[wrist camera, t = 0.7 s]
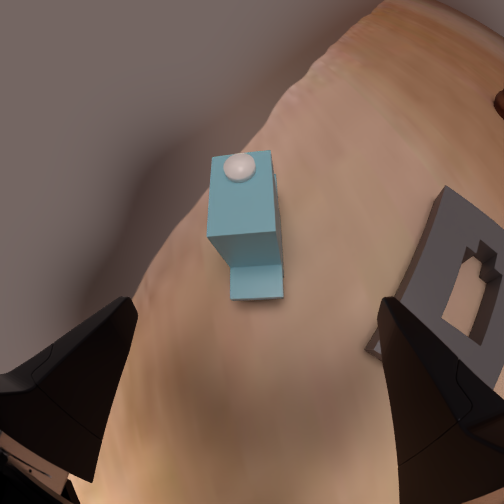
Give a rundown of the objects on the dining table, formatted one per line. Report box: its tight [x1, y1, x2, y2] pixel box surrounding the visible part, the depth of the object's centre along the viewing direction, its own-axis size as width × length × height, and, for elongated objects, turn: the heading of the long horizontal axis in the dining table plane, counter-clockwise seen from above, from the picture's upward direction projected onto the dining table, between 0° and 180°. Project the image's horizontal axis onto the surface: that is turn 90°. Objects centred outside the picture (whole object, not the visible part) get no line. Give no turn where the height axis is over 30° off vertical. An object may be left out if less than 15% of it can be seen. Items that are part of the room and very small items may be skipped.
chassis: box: [365, 185, 504, 390], centre depth 19 cm, size 18×14×3 cm
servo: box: [207, 150, 284, 301], centre depth 21 cm, size 11×4×11 cm, turn 1°
